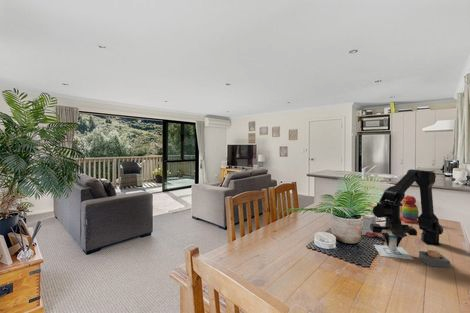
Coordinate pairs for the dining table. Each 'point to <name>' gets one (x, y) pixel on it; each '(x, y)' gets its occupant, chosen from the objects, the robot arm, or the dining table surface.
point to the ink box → (368, 225)
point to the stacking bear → (409, 210)
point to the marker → (392, 242)
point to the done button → (433, 254)
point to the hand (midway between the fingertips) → (392, 246)
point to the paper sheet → (393, 252)
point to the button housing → (434, 260)
